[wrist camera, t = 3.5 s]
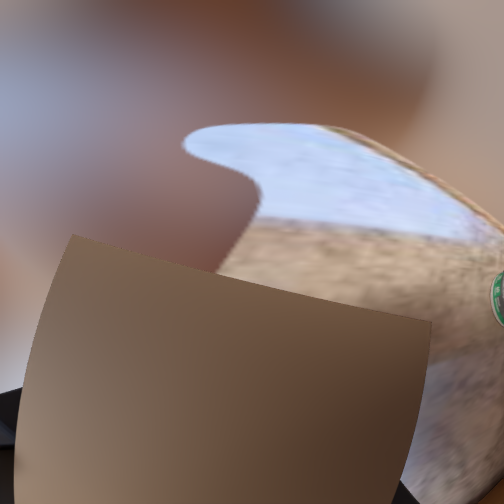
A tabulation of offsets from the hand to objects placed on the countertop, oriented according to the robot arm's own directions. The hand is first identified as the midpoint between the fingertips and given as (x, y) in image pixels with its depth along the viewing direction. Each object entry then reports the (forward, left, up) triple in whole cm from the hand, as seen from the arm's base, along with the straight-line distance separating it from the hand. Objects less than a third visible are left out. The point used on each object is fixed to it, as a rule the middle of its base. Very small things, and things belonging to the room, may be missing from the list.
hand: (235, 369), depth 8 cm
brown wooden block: (-1, -1, -6) cm, 6 cm away
